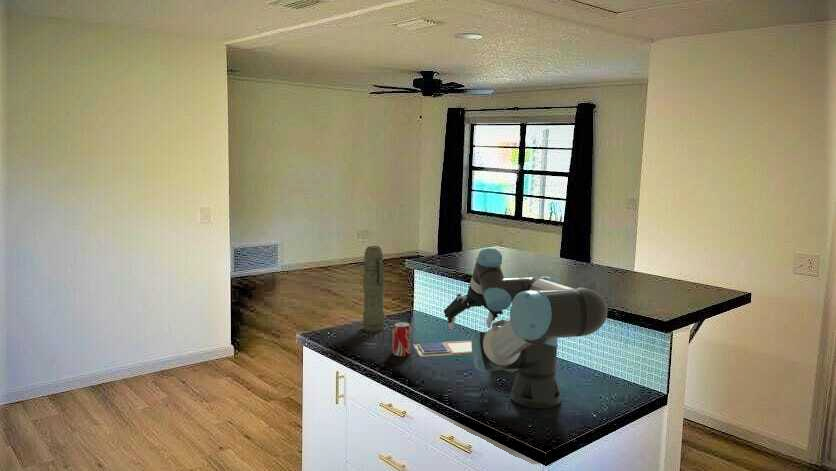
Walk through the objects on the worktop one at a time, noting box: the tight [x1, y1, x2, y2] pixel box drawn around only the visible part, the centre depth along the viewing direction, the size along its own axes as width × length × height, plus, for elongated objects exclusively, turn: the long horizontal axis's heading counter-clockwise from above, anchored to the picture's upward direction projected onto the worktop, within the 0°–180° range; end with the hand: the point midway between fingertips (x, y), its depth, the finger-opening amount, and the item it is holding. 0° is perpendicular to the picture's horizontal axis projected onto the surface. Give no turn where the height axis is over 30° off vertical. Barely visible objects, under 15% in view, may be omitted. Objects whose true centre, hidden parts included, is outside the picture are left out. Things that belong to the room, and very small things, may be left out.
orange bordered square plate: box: [442, 339, 472, 355], centre depth 240 cm, size 13×13×1 cm
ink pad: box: [417, 341, 450, 355], centre depth 237 cm, size 10×10×1 cm
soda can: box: [391, 321, 413, 357], centre depth 232 cm, size 7×7×12 cm
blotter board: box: [412, 343, 472, 358], centre depth 239 cm, size 14×26×1 cm, turn 102°
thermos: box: [362, 245, 385, 333], centre depth 262 cm, size 9×12×35 cm
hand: (469, 326), depth 218 cm, fingers open, 13 cm apart
